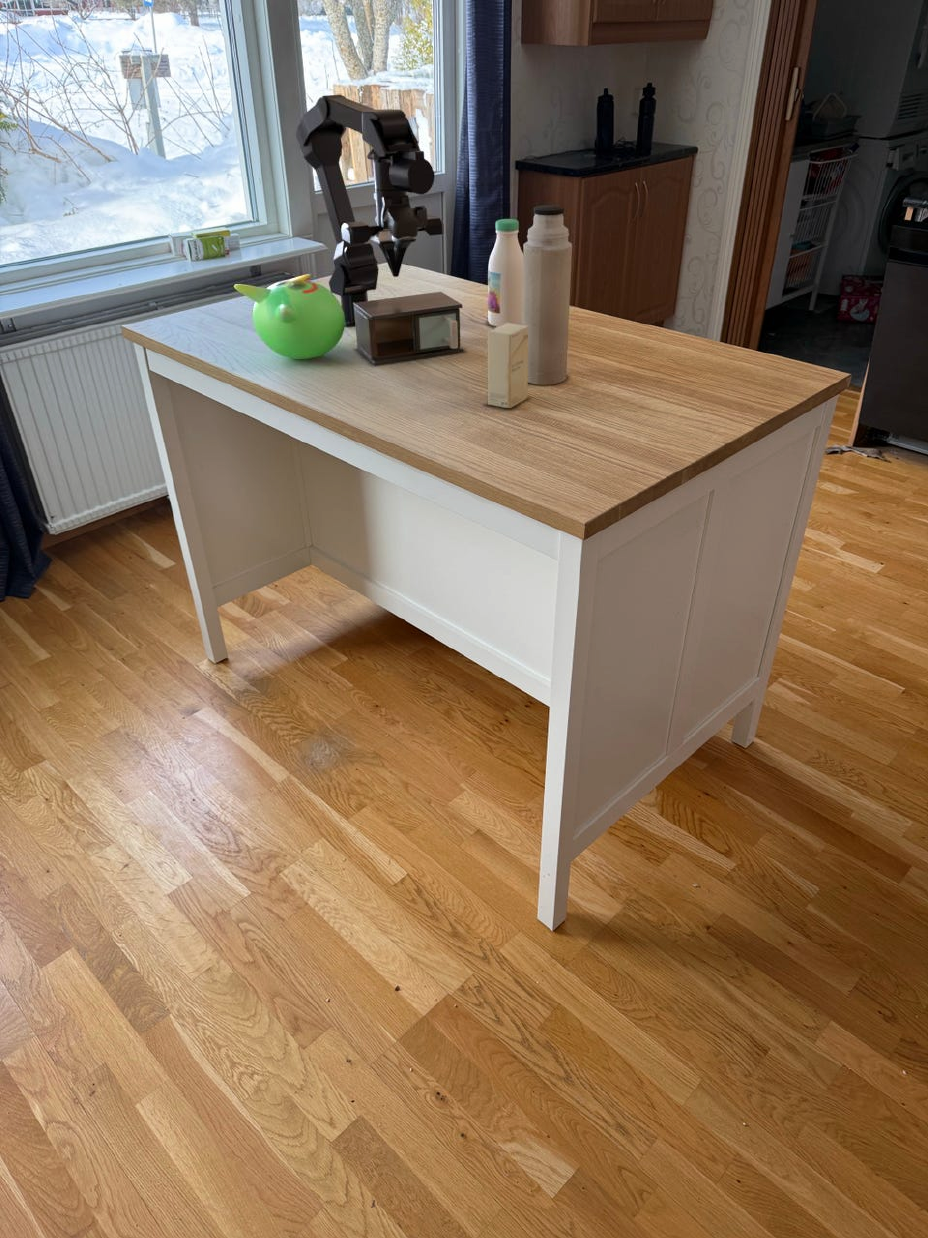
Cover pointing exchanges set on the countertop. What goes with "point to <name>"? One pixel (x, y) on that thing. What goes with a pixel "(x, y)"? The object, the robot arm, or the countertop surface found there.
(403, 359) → the cupboard
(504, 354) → the cosmetic box
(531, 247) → the thermos bottle
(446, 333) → the glass door
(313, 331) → the toy bird
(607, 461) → the countertop surface
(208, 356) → the countertop surface
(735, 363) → the countertop surface
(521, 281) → the milk bottle
